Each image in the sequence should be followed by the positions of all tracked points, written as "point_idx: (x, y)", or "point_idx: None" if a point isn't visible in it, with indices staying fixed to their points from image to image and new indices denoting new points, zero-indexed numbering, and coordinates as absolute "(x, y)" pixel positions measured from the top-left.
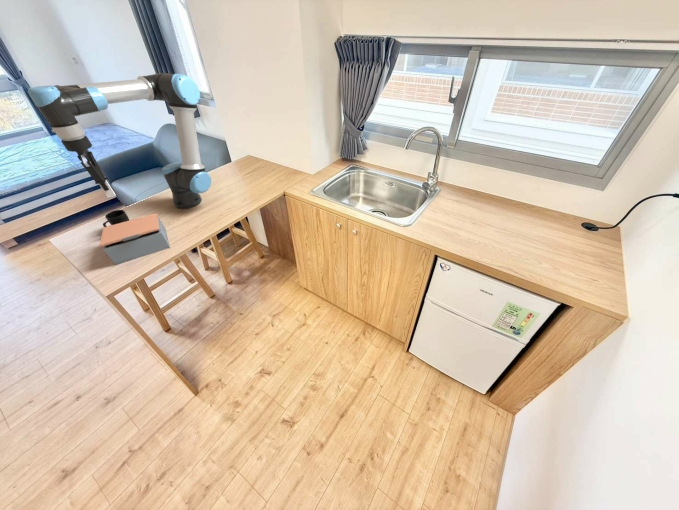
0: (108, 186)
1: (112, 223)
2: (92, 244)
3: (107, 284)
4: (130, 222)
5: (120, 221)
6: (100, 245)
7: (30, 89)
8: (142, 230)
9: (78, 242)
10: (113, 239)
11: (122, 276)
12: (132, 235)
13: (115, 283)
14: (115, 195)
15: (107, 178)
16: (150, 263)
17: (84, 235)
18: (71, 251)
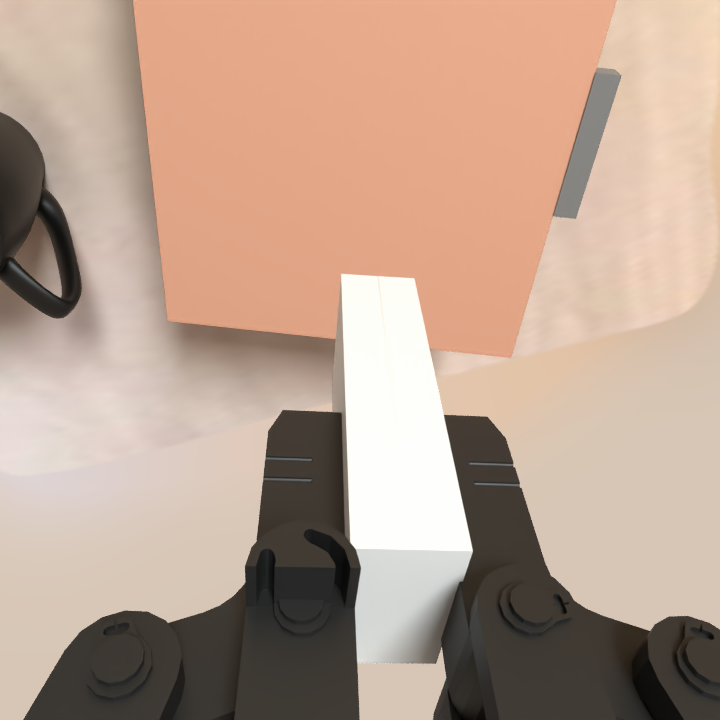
0: (446, 446)
1: (18, 249)
2: (126, 350)
3: (628, 300)
4: (210, 112)
5: (14, 189)
6: (511, 353)
7: None
8: (543, 19)
9: (60, 408)
10: (498, 275)
11: (627, 230)
12: (572, 129)
13: (658, 266)
14: (394, 279)
15: (320, 548)
16: (648, 48)
17: None
18: (151, 432)
